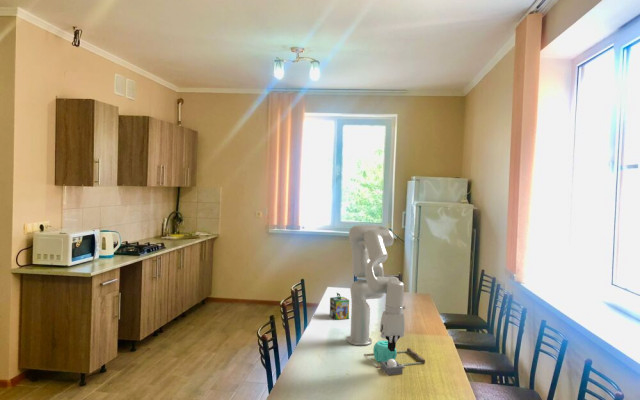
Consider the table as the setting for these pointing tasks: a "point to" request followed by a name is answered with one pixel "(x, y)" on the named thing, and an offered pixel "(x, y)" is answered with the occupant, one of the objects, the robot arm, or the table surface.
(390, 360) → the white ball
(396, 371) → the collar
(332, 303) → the chalk box
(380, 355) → the decorative dice
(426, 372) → the table surface
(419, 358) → the lane
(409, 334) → the table surface
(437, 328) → the table surface
